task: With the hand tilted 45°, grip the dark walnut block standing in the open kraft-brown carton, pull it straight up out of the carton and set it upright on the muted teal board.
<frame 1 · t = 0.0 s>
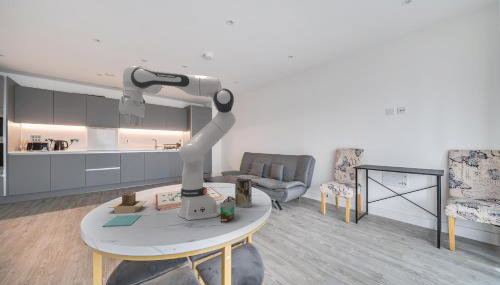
hand: (132, 124, 99), 48 cm above the table, tool pointing down, fingers open, 8 cm apart
block: (128, 202, 109), in the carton
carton: (128, 209, 109), on the table
board: (123, 220, 93), on the table
food container: (229, 219, 96), on the table
coffee box: (243, 205, 117), on the table
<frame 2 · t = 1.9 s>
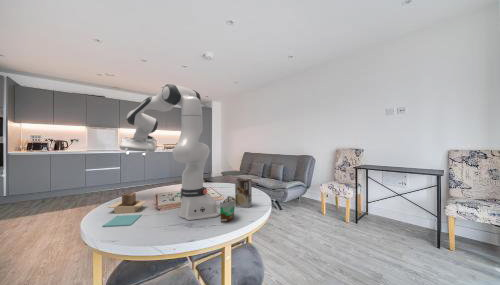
hand: (135, 155, 120), 30 cm above the table, tool tilted 40°, fingers open, 8 cm apart
nothing on the table moved.
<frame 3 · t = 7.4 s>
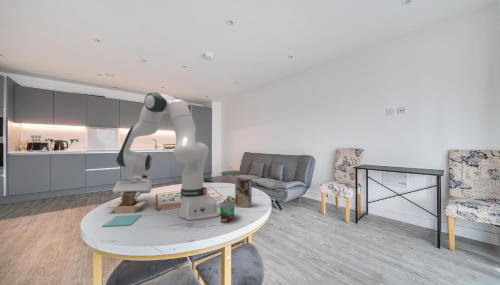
hand: (128, 199, 108), 6 cm above the table, tool tilted 45°, fingers closed on block, 5 cm apart
block: (128, 201, 109), in the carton, touching gripper
everything else where it was.
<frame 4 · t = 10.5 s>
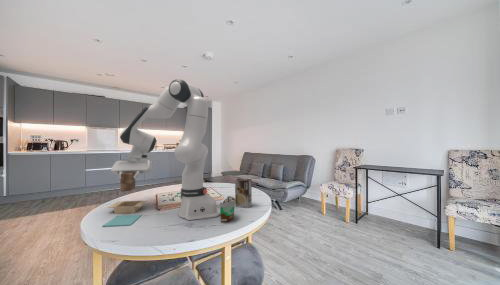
hand: (127, 179, 102), 19 cm above the table, tool tilted 45°, fingers closed on block, 5 cm apart
block: (128, 181, 103), point 17 cm above the table, touching gripper
everything else where it was.
when the fingers open (8 cm above the table, at t = 13.8 s): block drops 1 cm, resting on board.
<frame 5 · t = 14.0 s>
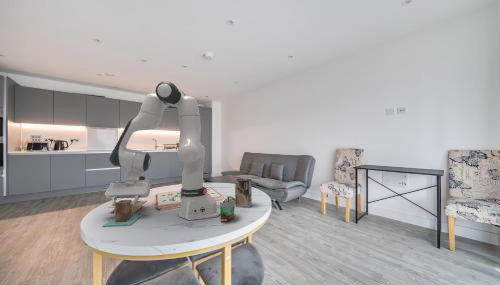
hand: (122, 205, 93), 8 cm above the table, tool tilted 45°, fingers open, 7 cm apart
block: (123, 210, 93), on the board
everything else where it was.
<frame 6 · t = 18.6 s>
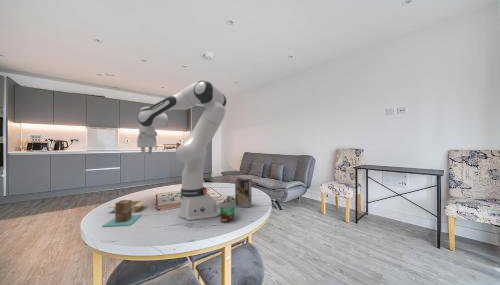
hand: (146, 154, 121), 31 cm above the table, tool pointing down, fingers open, 8 cm apart
nothing on the table moved.
at the end: block inside the target area on the board (0.1 cm from its centre), point 5.0 cm above the board's base; block tilted 0°; the gripper is holding nothing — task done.
